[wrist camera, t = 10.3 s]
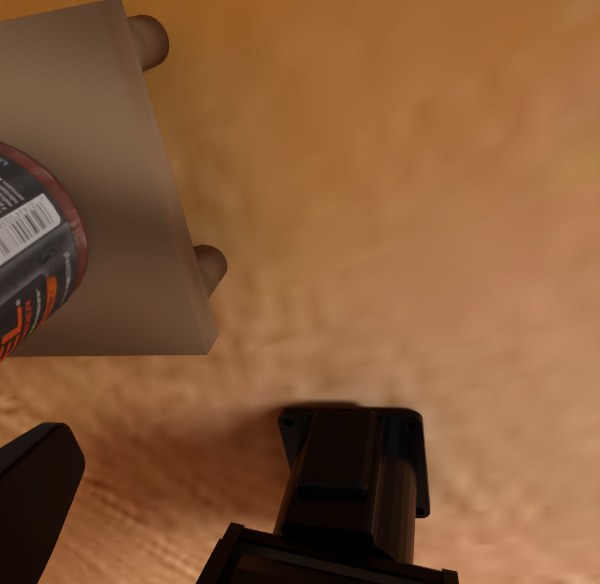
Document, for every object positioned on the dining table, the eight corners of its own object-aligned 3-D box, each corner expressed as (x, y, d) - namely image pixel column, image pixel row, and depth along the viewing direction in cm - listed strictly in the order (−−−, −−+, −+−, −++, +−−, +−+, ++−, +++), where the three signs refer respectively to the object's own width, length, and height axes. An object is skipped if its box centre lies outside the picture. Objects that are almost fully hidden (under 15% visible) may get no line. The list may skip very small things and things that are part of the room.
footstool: (245, 289, 23) (207, 354, 19) (23, 298, 26) (-47, 357, 22) (170, -10, 18) (98, 1, 14) (-97, 45, 21) (-215, 66, 17)
